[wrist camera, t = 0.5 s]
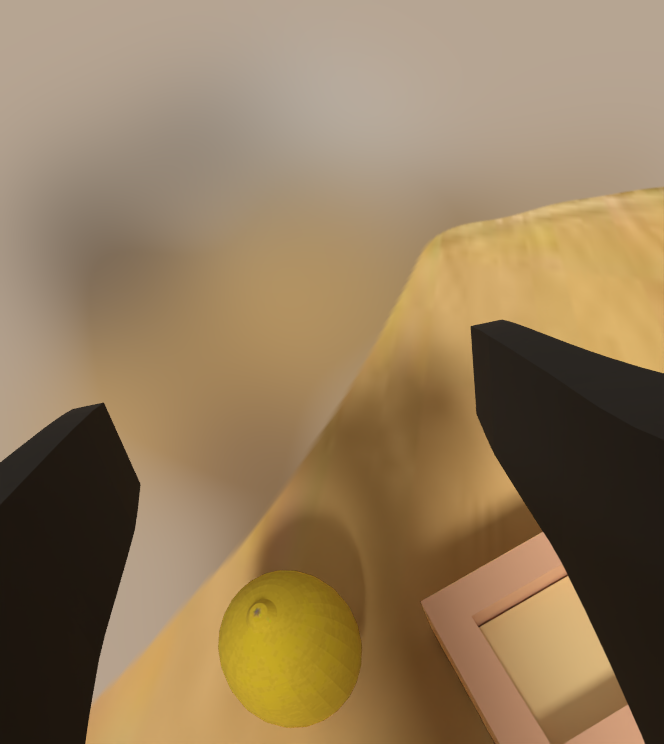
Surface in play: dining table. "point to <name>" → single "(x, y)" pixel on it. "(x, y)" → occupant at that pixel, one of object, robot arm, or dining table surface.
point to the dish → (483, 660)
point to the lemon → (290, 648)
